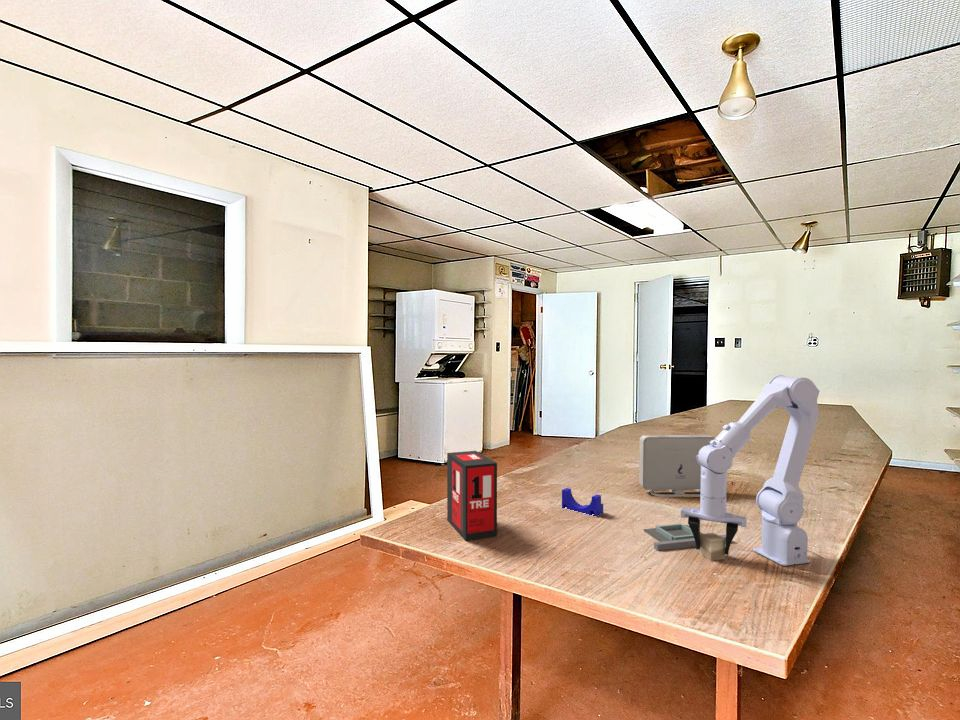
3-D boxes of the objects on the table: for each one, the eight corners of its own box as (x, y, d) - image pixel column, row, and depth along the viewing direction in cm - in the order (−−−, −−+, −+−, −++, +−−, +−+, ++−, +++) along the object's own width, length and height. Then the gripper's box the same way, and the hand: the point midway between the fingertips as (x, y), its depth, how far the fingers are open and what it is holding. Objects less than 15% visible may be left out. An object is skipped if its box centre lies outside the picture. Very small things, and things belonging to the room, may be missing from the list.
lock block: (725, 559, 121) (725, 538, 121) (710, 560, 120) (711, 540, 120) (713, 552, 125) (713, 532, 125) (699, 554, 124) (700, 534, 124)
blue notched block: (603, 513, 154) (603, 494, 154) (596, 517, 151) (596, 497, 150) (569, 505, 162) (569, 486, 162) (561, 508, 159) (561, 489, 158)
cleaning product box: (496, 536, 135) (497, 463, 135) (465, 541, 132) (465, 465, 131) (475, 516, 151) (475, 450, 150) (447, 520, 148) (447, 452, 147)
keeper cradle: (714, 541, 132) (714, 535, 132) (667, 546, 129) (667, 540, 129) (687, 526, 143) (687, 521, 143) (643, 530, 140) (643, 525, 140)
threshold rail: (731, 542, 132) (731, 536, 132) (657, 550, 126) (657, 544, 126) (727, 539, 133) (727, 534, 133) (654, 548, 128) (654, 542, 128)
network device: (645, 497, 170) (645, 438, 169) (636, 489, 179) (636, 433, 178) (719, 496, 171) (720, 438, 170) (707, 489, 180) (707, 433, 179)
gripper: (747, 495, 122) (746, 550, 123) (683, 487, 129) (682, 539, 130) (746, 503, 116) (745, 561, 117) (679, 494, 123) (679, 549, 124)
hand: (712, 550), depth 123 cm, fingers closed on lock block, 6 cm apart
